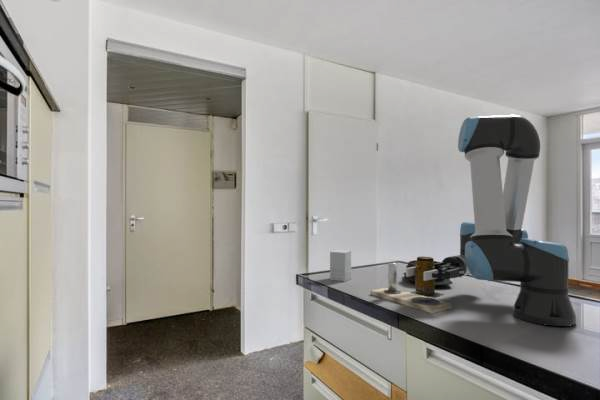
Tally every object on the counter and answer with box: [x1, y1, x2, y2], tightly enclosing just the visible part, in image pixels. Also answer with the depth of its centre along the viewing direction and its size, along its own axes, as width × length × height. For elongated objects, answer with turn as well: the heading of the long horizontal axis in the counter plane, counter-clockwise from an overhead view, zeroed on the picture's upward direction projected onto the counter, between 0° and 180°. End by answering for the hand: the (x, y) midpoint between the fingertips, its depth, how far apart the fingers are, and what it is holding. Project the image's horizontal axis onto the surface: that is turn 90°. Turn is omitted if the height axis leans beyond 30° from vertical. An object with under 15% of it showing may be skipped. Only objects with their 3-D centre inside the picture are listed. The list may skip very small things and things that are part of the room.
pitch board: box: [370, 286, 452, 314], centre depth 119 cm, size 26×10×2 cm, turn 34°
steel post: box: [387, 262, 398, 293], centre depth 125 cm, size 3×3×12 cm
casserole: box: [402, 259, 454, 286], centre depth 148 cm, size 25×19×8 cm
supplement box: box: [329, 249, 352, 282], centre depth 152 cm, size 7×7×13 cm
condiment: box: [410, 256, 445, 299], centre depth 113 cm, size 7×8×12 cm
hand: (415, 274), depth 111 cm, fingers closed on condiment, 6 cm apart
